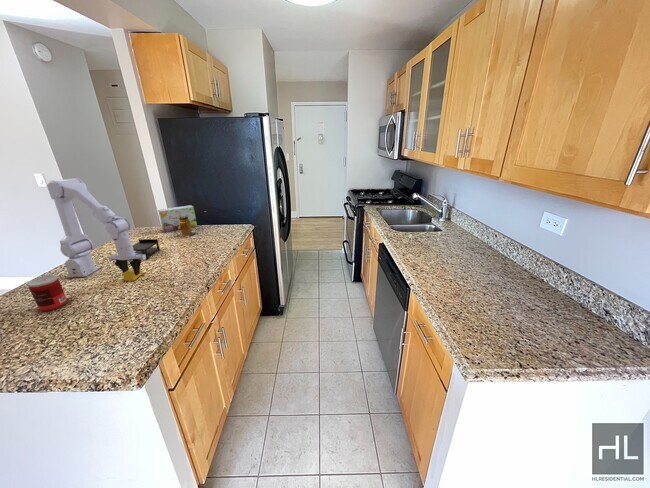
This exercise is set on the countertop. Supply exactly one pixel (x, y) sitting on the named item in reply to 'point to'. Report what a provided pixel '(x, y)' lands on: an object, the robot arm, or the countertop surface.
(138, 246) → the rack
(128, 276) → the yellow block
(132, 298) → the countertop surface
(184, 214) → the snack box
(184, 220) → the condiment
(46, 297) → the canned food
